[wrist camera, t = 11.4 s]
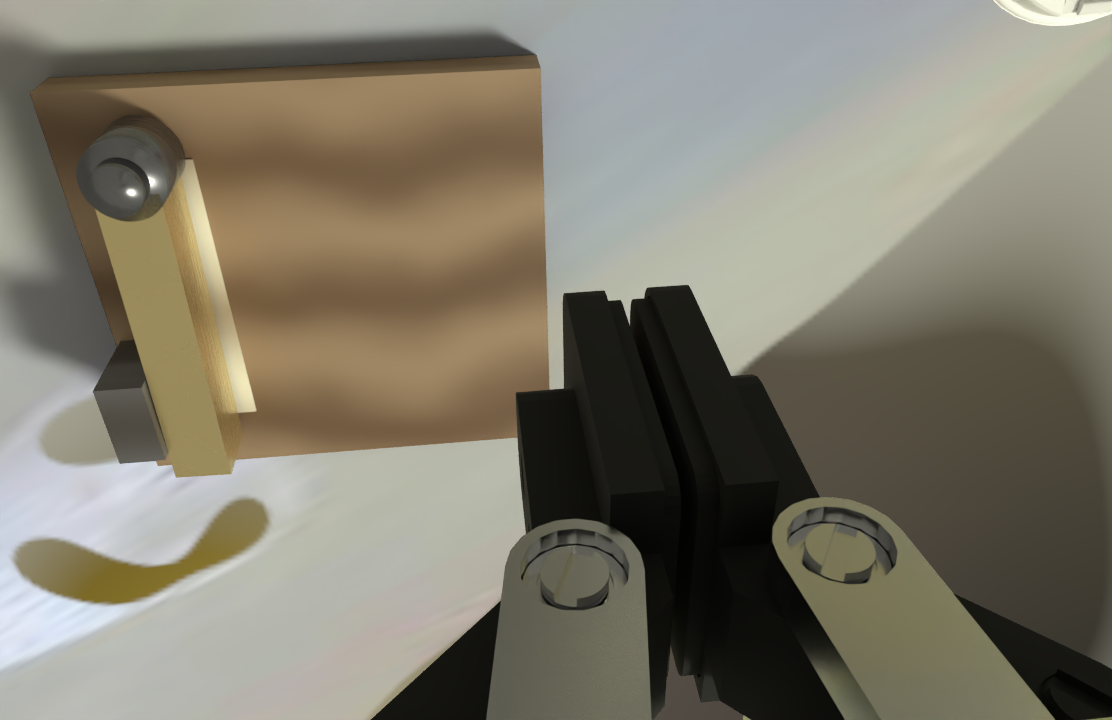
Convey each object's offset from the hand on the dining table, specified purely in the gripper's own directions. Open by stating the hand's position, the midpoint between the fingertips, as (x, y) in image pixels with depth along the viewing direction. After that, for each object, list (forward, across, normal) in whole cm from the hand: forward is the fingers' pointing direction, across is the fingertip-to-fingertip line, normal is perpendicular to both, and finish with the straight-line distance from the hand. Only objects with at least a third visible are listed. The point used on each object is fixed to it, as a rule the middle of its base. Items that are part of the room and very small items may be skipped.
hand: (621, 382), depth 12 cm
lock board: (+29, +9, +13) cm, 33 cm away
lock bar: (+27, +15, +12) cm, 33 cm away
